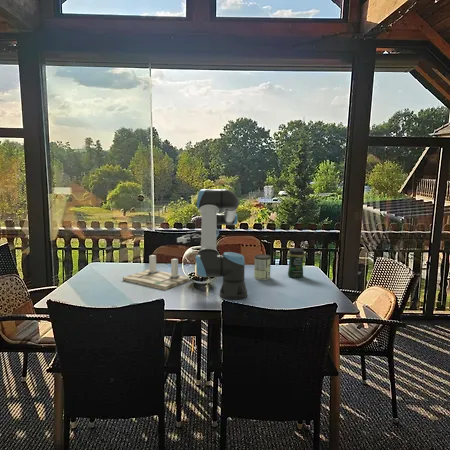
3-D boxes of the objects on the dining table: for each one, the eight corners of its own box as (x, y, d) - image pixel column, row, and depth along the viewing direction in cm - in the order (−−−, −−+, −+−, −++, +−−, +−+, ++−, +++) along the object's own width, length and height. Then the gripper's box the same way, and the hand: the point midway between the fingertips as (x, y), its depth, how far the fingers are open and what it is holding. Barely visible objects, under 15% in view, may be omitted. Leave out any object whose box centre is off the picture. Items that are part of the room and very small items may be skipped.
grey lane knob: (152, 273, 252) (152, 256, 250) (147, 272, 254) (147, 255, 253) (157, 272, 256) (157, 255, 255) (153, 271, 258) (152, 254, 257)
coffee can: (254, 275, 260) (254, 254, 258) (270, 275, 259) (270, 254, 257) (253, 279, 250) (254, 257, 248) (270, 280, 249) (270, 258, 247)
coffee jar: (289, 278, 254) (290, 249, 252) (287, 274, 262) (287, 247, 259) (304, 278, 255) (305, 249, 252) (301, 274, 262) (302, 247, 260)
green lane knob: (174, 278, 243) (174, 260, 241) (169, 277, 245) (169, 259, 243) (179, 276, 247) (179, 259, 245) (174, 275, 249) (174, 258, 247)
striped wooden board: (165, 290, 227) (165, 286, 226) (122, 280, 245) (122, 277, 244) (191, 280, 247) (191, 276, 246) (150, 272, 265) (150, 269, 264)
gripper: (212, 242, 263) (191, 248, 243) (192, 239, 272) (169, 245, 252) (212, 231, 262) (191, 236, 242) (192, 228, 271) (169, 233, 251)
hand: (180, 240), depth 247 cm, fingers open, 4 cm apart
